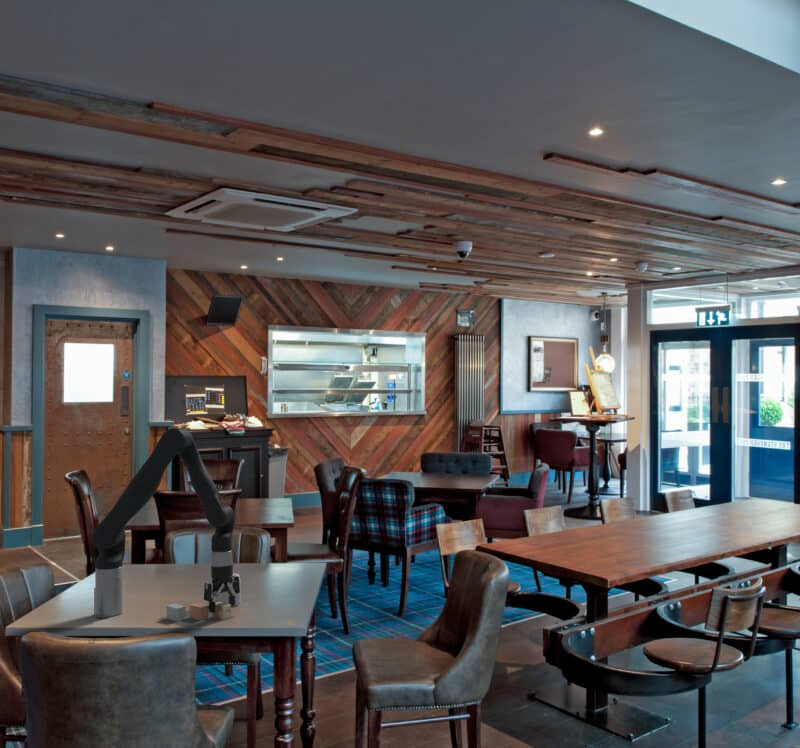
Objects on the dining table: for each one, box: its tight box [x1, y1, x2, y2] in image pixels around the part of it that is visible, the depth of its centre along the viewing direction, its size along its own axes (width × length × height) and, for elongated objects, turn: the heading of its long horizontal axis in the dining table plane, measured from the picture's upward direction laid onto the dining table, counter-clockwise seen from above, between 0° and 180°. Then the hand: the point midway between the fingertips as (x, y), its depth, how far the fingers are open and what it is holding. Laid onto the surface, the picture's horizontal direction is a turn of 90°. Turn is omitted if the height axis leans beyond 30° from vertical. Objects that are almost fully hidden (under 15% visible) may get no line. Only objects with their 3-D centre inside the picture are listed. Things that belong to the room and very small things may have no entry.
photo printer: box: [215, 572, 242, 607], centre depth 296 cm, size 10×4×12 cm, turn 95°
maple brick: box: [212, 602, 232, 620], centre depth 280 cm, size 6×3×4 cm, turn 53°
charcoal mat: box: [157, 609, 235, 631], centre depth 278 cm, size 20×18×1 cm
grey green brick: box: [166, 603, 186, 622], centre depth 277 cm, size 6×3×4 cm, turn 53°
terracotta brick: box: [188, 602, 209, 621], centre depth 279 cm, size 6×3×4 cm, turn 53°
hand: (222, 609), depth 280 cm, fingers open, 8 cm apart
